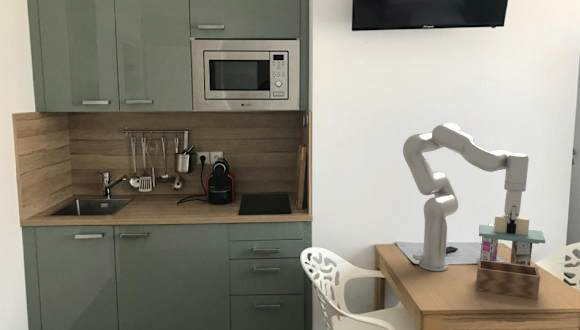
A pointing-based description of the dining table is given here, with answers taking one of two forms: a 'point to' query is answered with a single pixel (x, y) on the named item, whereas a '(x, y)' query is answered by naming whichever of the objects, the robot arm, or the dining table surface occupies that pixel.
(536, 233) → the lid
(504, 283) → the open wooden box
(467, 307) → the dining table surface
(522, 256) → the coffee box
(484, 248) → the candy bar box
